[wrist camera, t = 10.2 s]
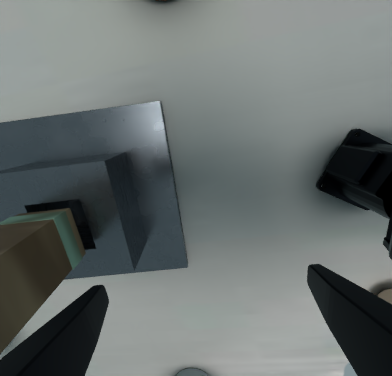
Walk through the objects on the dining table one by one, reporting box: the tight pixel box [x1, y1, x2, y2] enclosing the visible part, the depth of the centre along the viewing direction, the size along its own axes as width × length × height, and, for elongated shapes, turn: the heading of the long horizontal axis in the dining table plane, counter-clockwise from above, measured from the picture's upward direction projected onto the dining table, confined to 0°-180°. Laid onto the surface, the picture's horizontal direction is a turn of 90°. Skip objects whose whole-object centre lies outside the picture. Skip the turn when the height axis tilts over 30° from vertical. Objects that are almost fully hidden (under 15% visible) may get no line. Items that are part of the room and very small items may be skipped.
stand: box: [0, 101, 188, 279], centre depth 19 cm, size 18×18×6 cm
